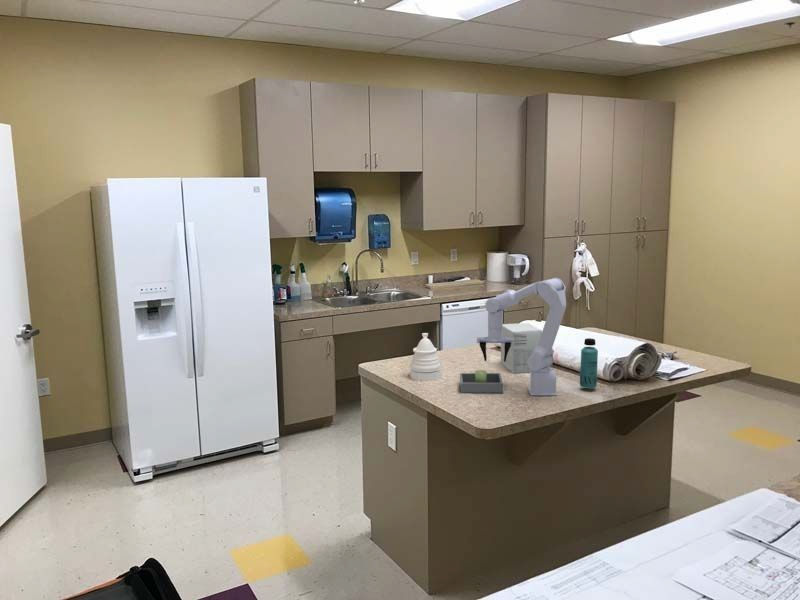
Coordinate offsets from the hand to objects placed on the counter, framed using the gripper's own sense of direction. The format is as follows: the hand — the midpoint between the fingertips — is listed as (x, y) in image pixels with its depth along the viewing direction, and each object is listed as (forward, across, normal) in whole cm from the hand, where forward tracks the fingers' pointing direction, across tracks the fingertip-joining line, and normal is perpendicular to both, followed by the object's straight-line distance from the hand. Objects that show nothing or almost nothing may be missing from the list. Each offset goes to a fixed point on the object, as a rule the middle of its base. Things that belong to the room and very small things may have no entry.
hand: (495, 360), depth 259 cm
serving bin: (+9, -5, -7) cm, 13 cm away
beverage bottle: (+10, +36, -4) cm, 37 cm away
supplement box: (+10, +10, +25) cm, 29 cm away
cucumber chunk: (+9, -5, -7) cm, 12 cm away
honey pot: (+10, -29, +7) cm, 31 cm away
